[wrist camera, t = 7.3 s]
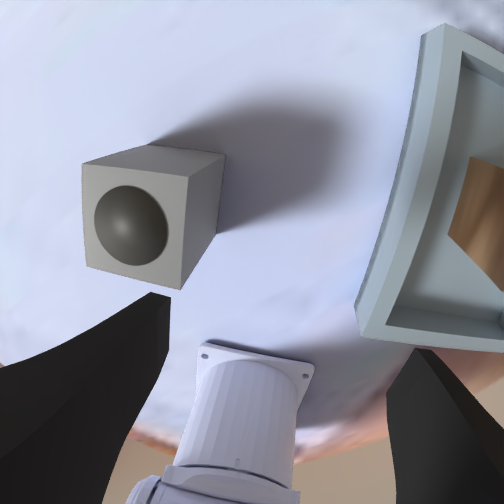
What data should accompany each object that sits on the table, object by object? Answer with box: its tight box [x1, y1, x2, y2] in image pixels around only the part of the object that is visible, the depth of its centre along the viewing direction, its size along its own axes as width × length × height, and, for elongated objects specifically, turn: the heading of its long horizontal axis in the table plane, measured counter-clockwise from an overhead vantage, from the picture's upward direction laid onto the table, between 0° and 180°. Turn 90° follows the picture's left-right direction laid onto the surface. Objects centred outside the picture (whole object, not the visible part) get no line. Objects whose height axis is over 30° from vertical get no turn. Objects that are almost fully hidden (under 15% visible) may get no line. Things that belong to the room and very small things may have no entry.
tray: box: [354, 23, 504, 353], centre depth 13 cm, size 16×12×3 cm
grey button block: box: [82, 145, 226, 290], centre depth 14 cm, size 4×4×6 cm
